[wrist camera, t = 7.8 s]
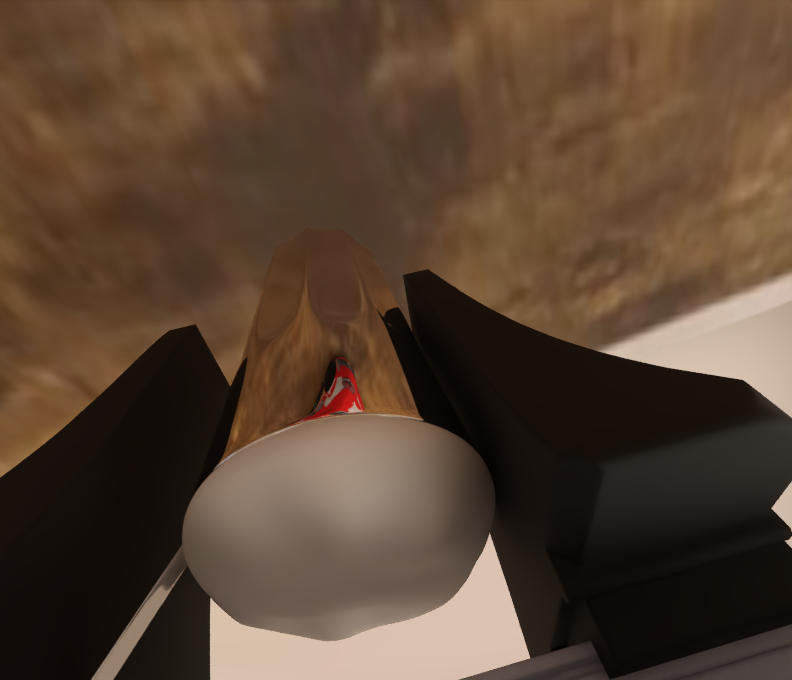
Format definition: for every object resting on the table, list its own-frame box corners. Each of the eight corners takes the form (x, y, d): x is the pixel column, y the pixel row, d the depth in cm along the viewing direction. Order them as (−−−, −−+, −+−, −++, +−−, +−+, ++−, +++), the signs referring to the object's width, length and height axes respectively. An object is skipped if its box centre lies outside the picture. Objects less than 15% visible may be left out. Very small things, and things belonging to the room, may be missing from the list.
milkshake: (202, 193, 11) (-70, 673, 3) (407, 208, 12) (627, 570, 4) (220, 339, 13) (107, 801, 5) (387, 340, 14) (495, 715, 7)
